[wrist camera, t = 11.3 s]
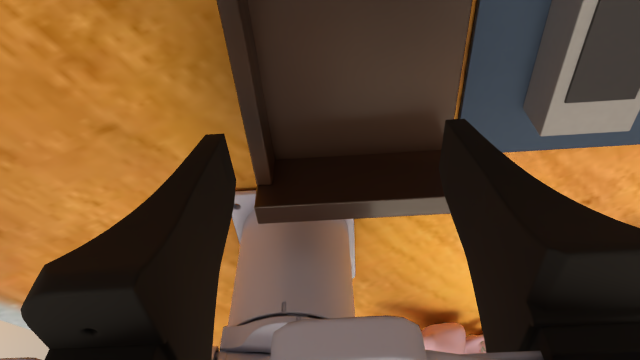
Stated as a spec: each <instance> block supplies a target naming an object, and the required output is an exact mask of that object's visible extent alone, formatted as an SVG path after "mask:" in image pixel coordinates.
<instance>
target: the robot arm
mask: <svg viewBox="0 0 640 360" xmlns="http://www.w3.org/2000/svg"><path fill="white" fill-rule="evenodd" d="M439 173H440V178H441V183H442V187H443V192H444V196H445V199H446V201H447V204H448V207H449V210H450V213H451V215H452V218H453V221H454V224H455V226H456V229H457V232H458V235H459V237H460V240H461V243H462V246H463V248H464V252H465V255H466V258H467V262H468V266H469V270H470V274H471V279H472V283H473V287H474V292H475V297H476V301H477V306H478V310H479V315H480V321H481V326H482V331H483V336H484V341H485V347H486V353H476V354H454V353H447V352H440V351H433V350H425V346H424V340H423V335H422V332H421V330H420V327H419V325H417V324H415V323H413V322H411V321H410V320H408V319H406V318H404V317H395V316H368V317H355V310H354V297H353V284H352V279H353V278H354V277H355V240H354V219H341V220H323V221H305V222H287V223H268V224H258V222H257V218H256V213H255V209H254V205H255V198H256V190H253V191H236V192H235V187H236V178H235V174H234V170H233V166H232V163H231V159H230V155H229V151H228V147H227V143H226V139H225V135H224V134H210V135H205V136H204V137H203V139H202V140H201V141H200V142H199V143H198V145H197V146H196V147H195V148H194V149H193V151H192V152H191V153H190V154H189V155H188V157H187V158H186V159H185V160H184V161H183V163H182V164H181V165H180V166H179V167H178V168H177V169H176V171H175V172H174V173H173V174H172V175H171V176H170V177H169V178H168V179H167V180H166V181H165V182H164V184H163V185H162V186H161V187H160V188H159V189H158V190H157V191H156V192H155V193H154V194H153V195H151V196H150V197H149V198H148V199H147V200H146V201H145V202H144V203H142V204H141V205H140V206H139V207H138V208H137V209H135V210H134V211H133V212H132V213H130V214H129V215H128V216H126V217H125V218H123V219H122V220H121V221H119V222H118V223H117V224H115V225H114V226H112V227H111V228H110V229H108V230H107V231H105V232H104V233H102V234H100V235H99V236H97V237H96V238H94V239H92V240H91V241H89V242H87V243H86V244H84V245H82V246H81V247H79V248H77V249H75V250H73V251H71V252H69V253H67V254H66V255H64V256H62V257H60V258H58V259H56V260H54V261H52V262H50V263H48V264H46V265H44V267H43V268H42V270H41V272H40V274H39V275H38V277H37V279H36V281H35V282H34V284H33V286H32V288H31V290H30V292H29V294H28V295H27V297H26V299H25V301H24V303H23V305H22V308H21V314H22V318H23V319H24V321H25V322H26V324H27V325H28V327H29V328H30V329H31V330H32V331H33V332H34V333H35V334H36V335H37V336H38V337H39V338H40V339H41V340H42V341H43V343H45V345H46V346H48V347H49V349H50V350H49V352H48V354H47V356H46V358H45V360H640V228H637V227H635V226H632V225H629V224H626V223H623V222H621V221H618V220H615V219H613V218H610V217H608V216H606V215H603V214H601V213H599V212H596V211H594V210H592V209H590V208H588V207H586V206H583V205H581V204H579V203H577V202H575V201H574V200H572V199H570V198H568V197H566V196H564V195H562V194H560V193H559V192H557V191H555V190H553V189H552V188H550V187H549V186H547V185H545V184H544V183H542V182H541V181H539V180H538V179H536V178H534V177H533V176H532V175H530V174H529V173H527V172H526V171H525V170H523V169H522V168H521V167H519V166H518V165H517V164H515V163H514V162H513V161H511V160H510V159H509V158H508V157H507V156H505V155H504V154H503V153H502V152H501V151H499V150H498V149H497V148H496V147H495V146H494V145H493V144H491V143H490V142H489V141H488V140H487V139H486V138H485V137H484V136H483V135H482V134H481V133H480V132H478V131H477V130H476V129H475V128H474V127H473V126H472V125H471V124H470V123H469V122H468V121H467V120H466V119H451V120H445V127H444V134H443V141H442V148H441V155H440V162H439ZM235 204H239V205H235ZM231 217H232V219H233V222H234V226H235V229H236V233H237V236H238V240H239V243H240V250H239V257H238V263H237V270H236V276H235V283H234V289H233V296H232V302H231V309H230V315H229V322H228V326H225V327H223V332H222V338H221V345H220V352H219V349H218V346H212V344H213V330H214V318H215V308H216V297H217V288H218V279H219V271H220V266H221V260H222V256H223V252H224V247H225V243H226V239H227V234H228V230H229V226H230V221H231ZM0 360H40V359H37V358H29V357H27V358H5V359H0Z"/></svg>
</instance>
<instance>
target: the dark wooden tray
mask: <svg viewBox="0 0 640 360" xmlns="http://www.w3.org/2000/svg"><path fill="white" fill-rule="evenodd" d="M217 5H218V9H219V14H220V18H221V23H222V28H223V32H224V37H225V41H226V46H227V50H228V55H229V60H230V64H231V69H232V73H233V78H234V83H235V87H236V92H237V96H238V101H239V105H240V110H241V115H242V119H243V124H244V128H245V133H246V138H247V142H248V147H249V151H250V156H251V160H252V165H253V170H254V174H255V179H256V183H257V190H256V198H255V205H254V209H255V213H256V218H257V222H258V224H268V223H287V222H305V221H323V220H341V219H359V218H378V217H396V216H414V215H432V214H450V210H449V207H448V204H447V201H446V199H445V196H444V192H443V187H442V183H441V178H440V173H439V162H440V155H441V148H442V141H443V134H444V127H445V120H451V119H454V115H455V109H456V102H457V96H458V89H459V83H460V76H461V70H462V64H463V57H464V51H465V44H466V38H467V31H468V25H469V18H470V12H471V6H472V0H217Z"/></svg>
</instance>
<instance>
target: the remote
mask: <svg viewBox="0 0 640 360" xmlns="http://www.w3.org/2000/svg"><path fill="white" fill-rule="evenodd" d="M523 109H524V111H525V113H526V114H527V116H528V117H529V119H530V121H531V122H532V124H533V125H534V127H535V129H536V130H537V132H538V133H539V135H540V136H555V135H572V134H588V133H605V132H621V131H630V129H631V127H632V125H633V123H634V120H635V118H636V116H637V114H638V112H639V110H640V0H552V2H551V6H550V10H549V13H548V17H547V21H546V25H545V28H544V32H543V36H542V39H541V43H540V47H539V50H538V54H537V58H536V61H535V65H534V69H533V72H532V76H531V80H530V83H529V87H528V91H527V94H526V98H525V102H524V106H523Z"/></svg>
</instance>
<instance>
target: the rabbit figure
mask: <svg viewBox="0 0 640 360" xmlns="http://www.w3.org/2000/svg"><path fill="white" fill-rule="evenodd" d="M421 332H422V335H423V340H424V346H425V350H433V351H440V352H447V353H454V354H476V353H486V347H485V341H484V336H483V335H479V336H476V335H474V334H471V335H468V336H466V333H465V329H464V327H463V326H462V325H461V324H459V323H455V322H450V323H446V322H445V323H442V324H434V325H429V326H427V327H426V328H424V329H423V330H422V331H421Z"/></svg>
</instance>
